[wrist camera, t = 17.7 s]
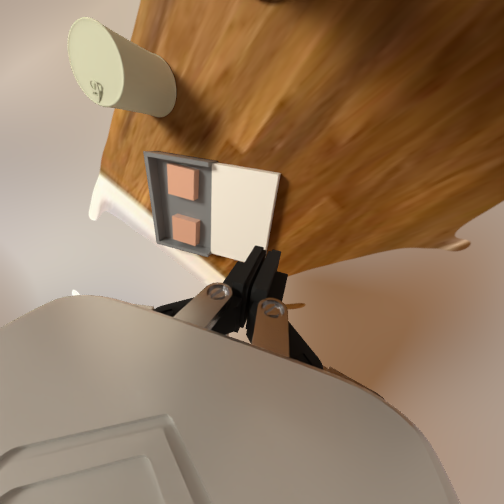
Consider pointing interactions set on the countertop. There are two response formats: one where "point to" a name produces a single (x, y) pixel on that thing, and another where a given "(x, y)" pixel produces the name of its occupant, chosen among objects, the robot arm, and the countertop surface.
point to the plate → (241, 209)
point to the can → (119, 70)
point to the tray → (179, 199)
